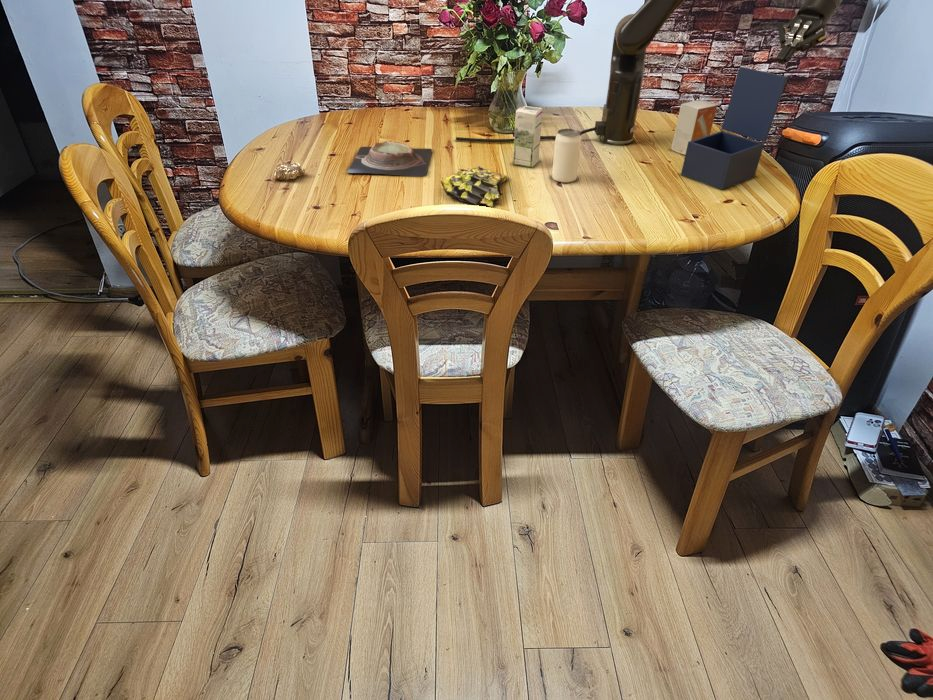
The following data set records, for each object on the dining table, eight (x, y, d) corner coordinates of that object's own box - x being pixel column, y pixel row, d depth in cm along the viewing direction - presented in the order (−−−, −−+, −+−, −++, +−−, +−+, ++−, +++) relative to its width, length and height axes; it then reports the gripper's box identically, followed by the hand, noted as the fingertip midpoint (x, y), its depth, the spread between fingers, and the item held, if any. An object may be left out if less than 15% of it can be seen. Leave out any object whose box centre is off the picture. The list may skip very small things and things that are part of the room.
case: (722, 190, 156) (731, 155, 151) (680, 174, 164) (688, 141, 159) (754, 176, 164) (764, 143, 158) (713, 162, 171) (721, 130, 166)
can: (560, 185, 158) (565, 137, 151) (546, 176, 163) (551, 130, 155) (581, 180, 161) (587, 134, 153) (567, 172, 165) (572, 126, 158)
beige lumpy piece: (280, 185, 156) (277, 171, 154) (271, 177, 161) (268, 163, 159) (310, 179, 160) (308, 165, 158) (300, 171, 164) (298, 157, 162)
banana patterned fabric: (468, 173, 166) (476, 150, 163) (519, 201, 163) (529, 178, 159) (430, 187, 151) (437, 162, 147) (486, 218, 147) (495, 193, 143)
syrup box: (539, 161, 171) (543, 107, 163) (531, 168, 167) (535, 113, 158) (519, 158, 173) (523, 104, 164) (512, 165, 169) (515, 110, 160)
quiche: (346, 174, 163) (344, 159, 160) (360, 148, 179) (359, 134, 176) (425, 176, 162) (424, 161, 160) (432, 149, 178) (432, 135, 176)
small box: (687, 156, 175) (698, 109, 167) (670, 150, 179) (680, 103, 171) (706, 151, 179) (718, 104, 171) (689, 145, 183) (699, 99, 175)
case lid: (786, 77, 149) (788, 76, 150) (739, 66, 157) (741, 66, 157) (764, 141, 158) (765, 141, 158) (721, 129, 166) (722, 128, 166)
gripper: (795, -12, 156) (753, 47, 157) (847, -6, 148) (803, 56, 149) (799, 9, 162) (759, 66, 163) (849, 17, 154) (807, 77, 155)
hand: (780, 61), depth 156 cm, fingers closed
